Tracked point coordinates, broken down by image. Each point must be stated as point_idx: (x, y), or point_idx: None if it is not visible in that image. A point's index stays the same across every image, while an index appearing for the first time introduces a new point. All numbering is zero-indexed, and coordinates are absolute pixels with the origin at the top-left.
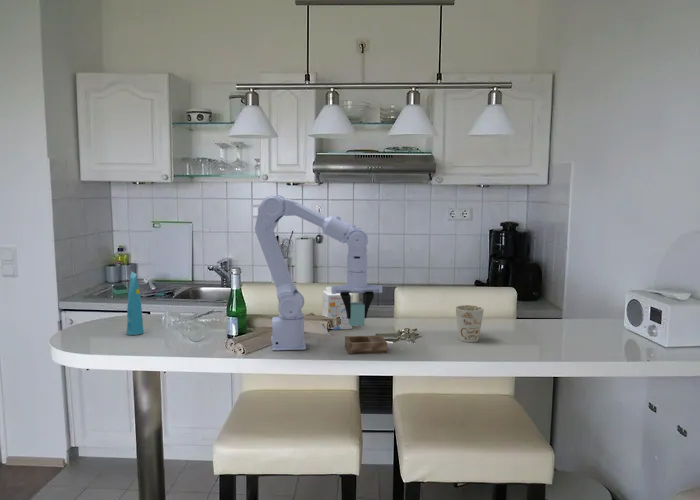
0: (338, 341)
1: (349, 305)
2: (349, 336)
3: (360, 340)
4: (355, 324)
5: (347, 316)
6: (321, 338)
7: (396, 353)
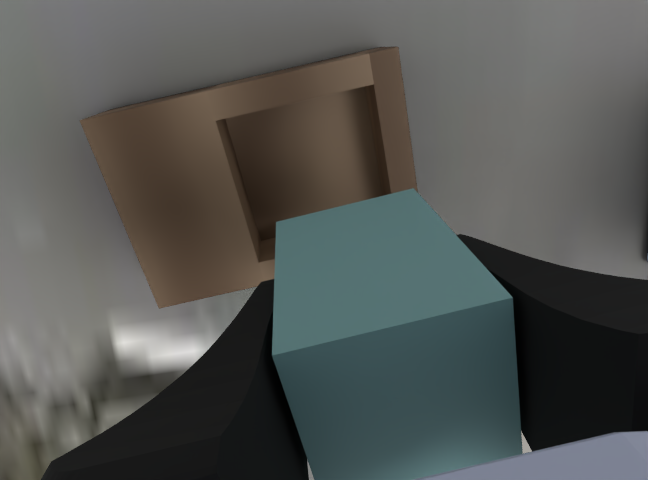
0: None
1: (534, 285)
2: None
3: None
4: (368, 204)
5: None
6: None
7: (42, 109)
